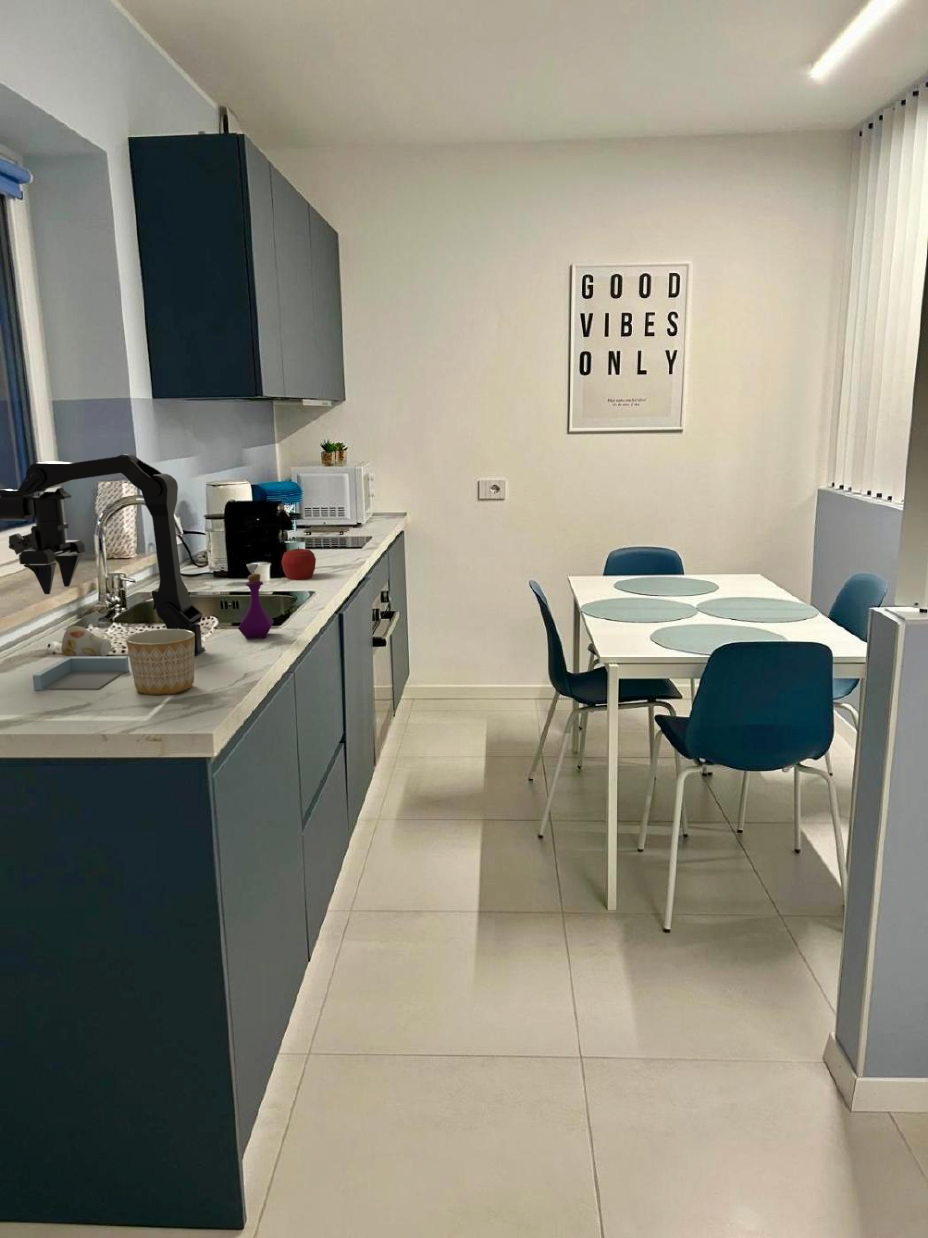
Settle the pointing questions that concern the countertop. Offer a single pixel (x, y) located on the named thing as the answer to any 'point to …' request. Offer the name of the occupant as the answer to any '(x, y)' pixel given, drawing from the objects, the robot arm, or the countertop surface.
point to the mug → (84, 643)
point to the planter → (162, 660)
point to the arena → (77, 668)
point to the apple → (298, 564)
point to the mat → (85, 680)
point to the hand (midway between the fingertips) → (57, 590)
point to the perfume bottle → (255, 610)
